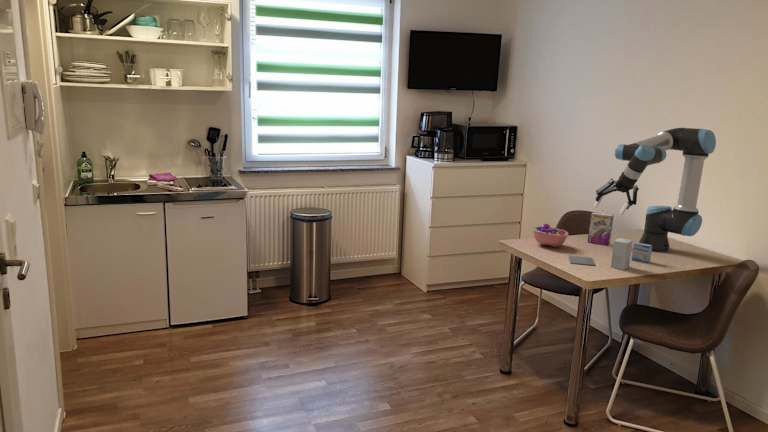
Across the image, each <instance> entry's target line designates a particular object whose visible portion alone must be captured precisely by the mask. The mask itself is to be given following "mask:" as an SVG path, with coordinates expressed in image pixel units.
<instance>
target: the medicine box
mask: <svg viewBox="0 0 768 432" xmlns="http://www.w3.org/2000/svg"><path fill="white" fill-rule="evenodd" d="M652 246H653V245H648V244H643V243H639V242H637V241H636V242H634V243H633V244H632V251H631V258H630V261H633V262H638V263H639V262H640V263H643V264H649V263H650V262H651V258H652V252H653V251H652Z"/></svg>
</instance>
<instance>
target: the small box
mask: <svg viewBox="0 0 768 432" xmlns="http://www.w3.org/2000/svg"><path fill="white" fill-rule="evenodd" d="M632 250H633V240H632V239H629V238H628V239H627V238H622V237H618V238H617V239H614V240H613V245H612V254H611V259H610V260H611V261H610V268H612V269H613V268H614V269H618V270H621V271H622V270H623V271H624V270H627V268H628V269H629V267H630V264H631V257H632Z"/></svg>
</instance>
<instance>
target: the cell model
mask: <svg viewBox="0 0 768 432" xmlns="http://www.w3.org/2000/svg"><path fill="white" fill-rule="evenodd" d="M532 233H533V238H534V239H535V241H536V242H537V243H538V244H540V245H543V246H547V247H551V248H557V247H560V246H562V245H564V244H565V243H566V240H567V238H568V237H569V232H568V231H566V230H564V229H563V228H562V229H561V228H556V227H551V225H550V224H548V223H543V224H541V226H537V227H533V228H532Z"/></svg>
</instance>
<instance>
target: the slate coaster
mask: <svg viewBox="0 0 768 432" xmlns="http://www.w3.org/2000/svg"><path fill="white" fill-rule="evenodd" d="M568 259H569V260H568V261H569V263H570V264H571V265H573V264H574V265H583V266H592V267H595V266H596V264H595V262H594V259H593V258H592V257H588V256H581V255H580V256H578V255H568Z"/></svg>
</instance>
